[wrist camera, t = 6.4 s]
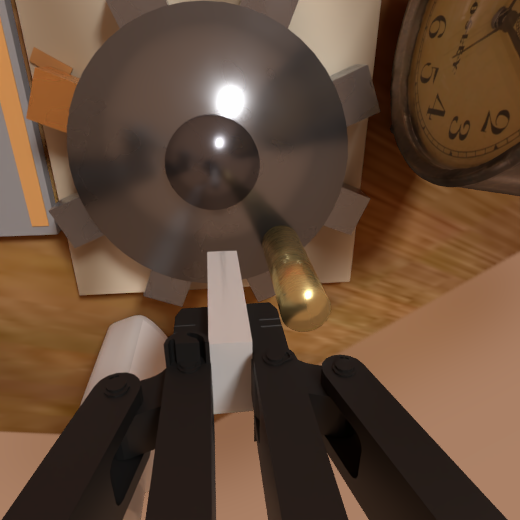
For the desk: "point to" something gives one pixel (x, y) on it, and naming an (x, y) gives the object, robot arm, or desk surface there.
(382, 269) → the desk surface
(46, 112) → the sprocket
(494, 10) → the alarm clock
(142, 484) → the eye dropper bottle
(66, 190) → the plate
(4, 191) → the pad
